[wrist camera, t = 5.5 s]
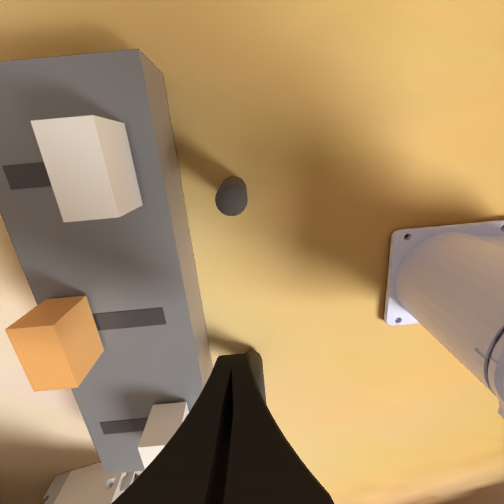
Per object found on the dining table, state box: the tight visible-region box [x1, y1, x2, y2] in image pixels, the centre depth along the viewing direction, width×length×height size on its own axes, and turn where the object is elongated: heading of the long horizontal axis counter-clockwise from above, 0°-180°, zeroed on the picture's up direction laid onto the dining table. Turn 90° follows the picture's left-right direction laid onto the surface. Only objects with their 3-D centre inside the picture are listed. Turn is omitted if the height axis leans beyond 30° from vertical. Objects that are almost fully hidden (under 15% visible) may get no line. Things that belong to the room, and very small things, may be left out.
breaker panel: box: [0, 49, 213, 474], centre depth 19 cm, size 9×28×4 cm, turn 5°
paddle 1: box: [31, 115, 143, 222], centre depth 13 cm, size 2×4×3 cm, turn 5°
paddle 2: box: [138, 402, 189, 469], centre depth 19 cm, size 2×4×3 cm, turn 5°
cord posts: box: [215, 176, 266, 403], centre depth 18 cm, size 2×16×6 cm, turn 5°
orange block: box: [5, 296, 104, 392], centre depth 16 cm, size 2×4×3 cm, turn 5°
